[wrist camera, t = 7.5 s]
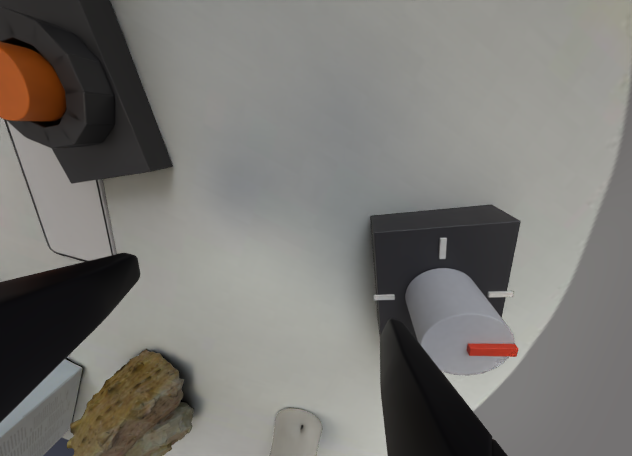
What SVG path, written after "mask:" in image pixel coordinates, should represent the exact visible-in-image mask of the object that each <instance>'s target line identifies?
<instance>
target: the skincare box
mask: <svg viewBox="0 0 632 456" xmlns="http://www.w3.org/2000/svg"><path fill="white" fill-rule="evenodd" d="M81 374H82V367H80V366H78V365H76V364H74V363H72V362H70V361H68V360H66V359H64V360H63V361H62V362H61V363H60V364H59V365H58V366H57V367H56V368H55V369H54V370H53V371H52V372H51V373H50V374H49V375H48V376H47V377H46V378H45V379H44V380H43V381H42V382H41V383H40V384H39V385H38V386H37V387H36V388H35V389H34V390H33V391H32V392H31V393H30V394H29V395H28V396H27V397H26V398H25V399H24V400H23V401H22V402H21V403H20V404H19V405H18V406H17V407H16V408H15V409H14V410H13V411H12V412H11V413H10V414H9V415H8V416H7V417H6V418H5V419H4V420H3V421H2V422H1V423H0V456H43V455H44V454H45V453H46V452H47V451H48V450H49V449H50V448H51V447H52V446H53V445H54V444H55V443H56V442H57V441H58V440H59V439H60V438H61V437H62V436H63V435H64V434H65V433H66V432H67V431H68V430H69V429H70V424H71V423H72V418H73V414H74V409H75V404H76V399H77V394H78V389H79V384H80V379H81Z"/></svg>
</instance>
